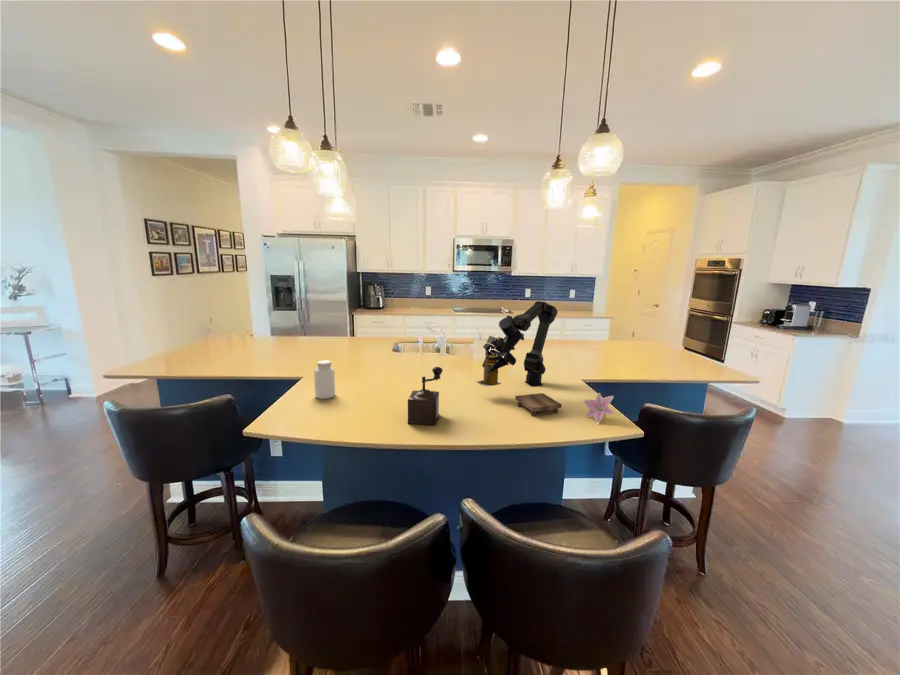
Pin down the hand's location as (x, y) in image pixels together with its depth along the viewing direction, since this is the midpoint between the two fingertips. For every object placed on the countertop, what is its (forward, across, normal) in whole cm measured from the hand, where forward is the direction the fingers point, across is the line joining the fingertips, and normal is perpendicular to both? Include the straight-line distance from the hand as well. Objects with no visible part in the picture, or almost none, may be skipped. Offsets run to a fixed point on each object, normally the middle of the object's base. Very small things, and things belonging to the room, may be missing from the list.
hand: (486, 368), depth 157 cm
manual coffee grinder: (+31, +8, -12) cm, 34 cm away
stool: (0, +18, +19) cm, 26 cm away
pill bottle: (+54, -27, -35) cm, 69 cm away
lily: (-12, +34, +31) cm, 47 cm away
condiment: (+4, 0, +6) cm, 7 cm away
